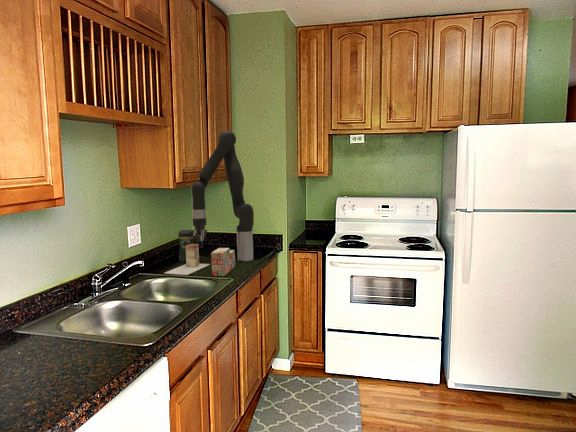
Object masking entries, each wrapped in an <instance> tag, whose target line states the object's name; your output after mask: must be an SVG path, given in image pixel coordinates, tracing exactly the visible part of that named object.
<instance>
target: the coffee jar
mask: <svg viewBox="0 0 576 432" xmlns="http://www.w3.org/2000/svg"><path fill="white" fill-rule="evenodd" d="M194 232H195V229H181V230H179V231H178V235H177V237H178V241H179V261H180V262H186V247H185V246H186V245H189V244H196V242H195V241H196V240H195V239H194V237H193V235H192V233H194Z"/></svg>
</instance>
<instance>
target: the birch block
mask: <svg viewBox="0 0 576 432" xmlns="http://www.w3.org/2000/svg"><path fill="white" fill-rule="evenodd" d="M185 247H186V261H185V262H186V263H185V264H186V266H187V267H192V268H195V267H197V266H199V263H200V255H199V254H200V252H199V249H200V248H198V243H195V244H189V245H186V246H185Z"/></svg>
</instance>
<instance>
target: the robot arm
mask: <svg viewBox="0 0 576 432" xmlns="http://www.w3.org/2000/svg"><path fill="white" fill-rule="evenodd" d="M217 141H218V143H217V146H216V148H215V149H214V151H213V152H212V154H211V155H210V156H209V158H208V159H207V161H206V162H205V163H204V164H203V167H202V168H201V170H200V172H199V174H198V176H199V177H200V180H199V182H195V181H194V182H195V183H194V182H193V184H192V186H191V195H192V196H191V197H192V226H193V227H194V233H192V235H193V237H194V239H195V240H194V241H197V244H198V248H199V249H202V248H203V247H204V242H203V241H204V240H205V239H206V237H207V233H208V229H206V227H205V226H207V211H206V210H207V209H206V201H205V198H206V197H205V196H206V194H205V193H206V192H205V191H206V187H208V184H209V182H210V181H211V180H212V178H213V177H214V175H215V173H216V171H217V170H218V168H219V167H220V164H221V163H222V161H223V162H224V170H225V175H226V179H227V184H228V188H229V191H230V196H231V202H232V210H233V214H234V216H235V217H236V219H239V220H238V222H239V224H238V225H236V249H237V250H236V251H237V261H241V262H250V261H253V260H254V239H253V237H254V236H253V235H254V234H253V227H254V224H255V223H254V219H255V217H254V216H255V212H254V208H253V207H252V206H253V205H251V204H249V203H246V202H245V198H244V185H245V179H244V173H243V169H242V167H241V164H240V161H239V159H238V157H237V154H236V149H235V148H236V147H235V145H236V141H237V137H236V135H235V133H234V132H232V131H230V130H225V131H222V132H220V134H218V138H217Z"/></svg>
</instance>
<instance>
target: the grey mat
mask: <svg viewBox="0 0 576 432" xmlns="http://www.w3.org/2000/svg"><path fill="white" fill-rule="evenodd" d="M210 265H211V263H200V262H199V266H197V267H195V268H192V267H187V266H186V263H185V264H182V265H180V266H177V267H175V268H173V269H171V270H168V271H166V272H164V274H170V275H183V276H188V275H190V274H193V273H195V272H196V271H199V270H201V269H203V268H206V267H208V266H210Z"/></svg>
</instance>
